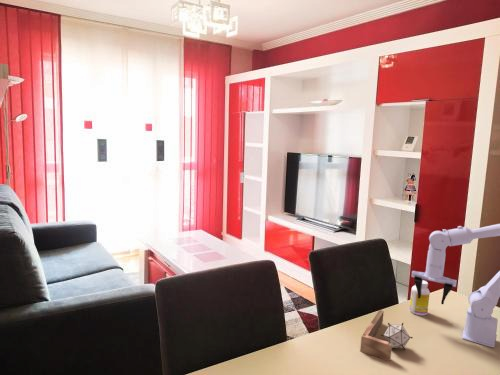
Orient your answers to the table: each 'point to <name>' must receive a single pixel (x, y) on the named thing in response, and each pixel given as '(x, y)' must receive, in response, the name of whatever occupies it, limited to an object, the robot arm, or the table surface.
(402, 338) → the game die
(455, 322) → the table surface
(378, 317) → the l-shaped bracket
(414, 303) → the supplement bottle
